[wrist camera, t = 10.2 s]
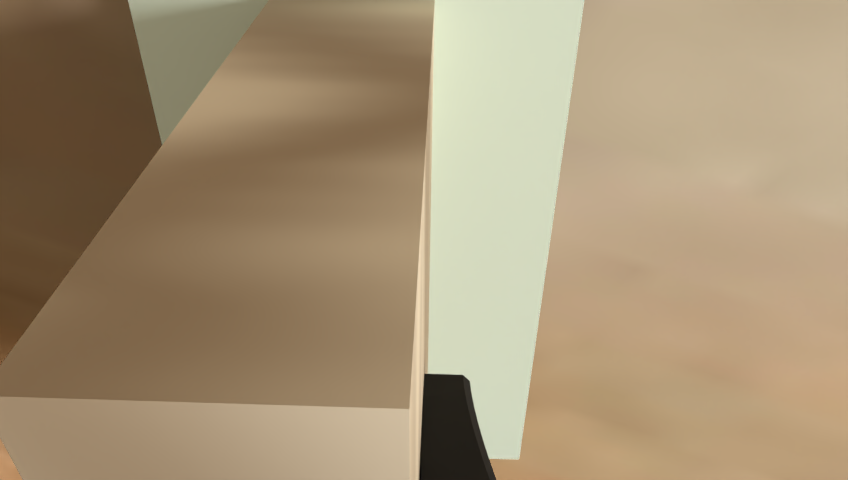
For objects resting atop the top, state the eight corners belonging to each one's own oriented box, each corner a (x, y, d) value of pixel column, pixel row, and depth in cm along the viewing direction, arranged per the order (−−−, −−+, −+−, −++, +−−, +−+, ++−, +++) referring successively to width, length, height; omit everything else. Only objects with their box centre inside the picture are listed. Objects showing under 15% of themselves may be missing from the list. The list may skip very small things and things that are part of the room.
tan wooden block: (434, -1, 10) (410, 409, 4) (427, 401, 16) (411, 864, 9) (271, -4, 10) (-22, 395, 4) (318, 398, 16) (224, 855, 9)
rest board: (516, 432, 17) (518, 459, 17) (241, 424, 18) (233, 450, 17) (585, -82, 10) (593, -70, 10) (130, -89, 11) (109, -79, 10)
